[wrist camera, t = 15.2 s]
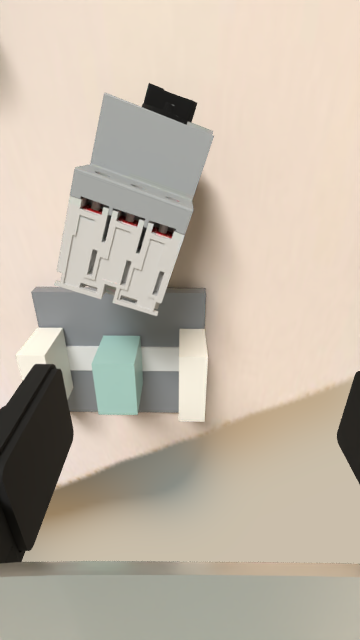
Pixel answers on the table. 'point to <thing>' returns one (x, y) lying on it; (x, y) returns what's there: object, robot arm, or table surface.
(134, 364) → the block
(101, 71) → the table surface
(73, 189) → the circuit breaker
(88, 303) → the rail board
